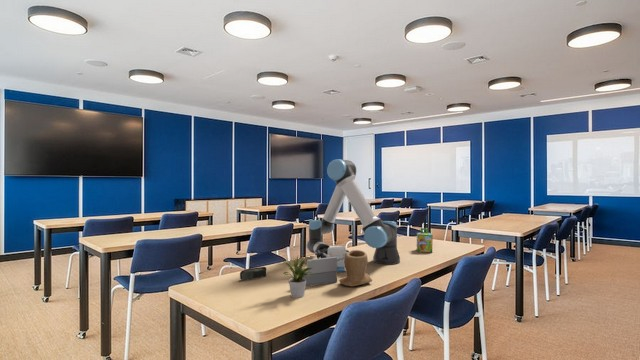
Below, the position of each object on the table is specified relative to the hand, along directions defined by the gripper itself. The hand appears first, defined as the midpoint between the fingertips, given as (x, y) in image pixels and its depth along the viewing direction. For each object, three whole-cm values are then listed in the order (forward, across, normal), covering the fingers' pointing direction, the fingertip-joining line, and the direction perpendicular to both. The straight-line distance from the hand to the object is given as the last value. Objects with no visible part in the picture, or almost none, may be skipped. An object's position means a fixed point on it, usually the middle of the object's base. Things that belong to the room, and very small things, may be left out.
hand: (340, 257), depth 176 cm
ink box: (-4, 0, -7) cm, 8 cm away
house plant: (+26, +34, -7) cm, 43 cm away
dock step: (+8, +17, -7) cm, 20 cm away
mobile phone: (-6, +44, -8) cm, 45 cm away
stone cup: (+23, +3, -7) cm, 24 cm away
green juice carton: (-21, -73, -7) cm, 76 cm away
